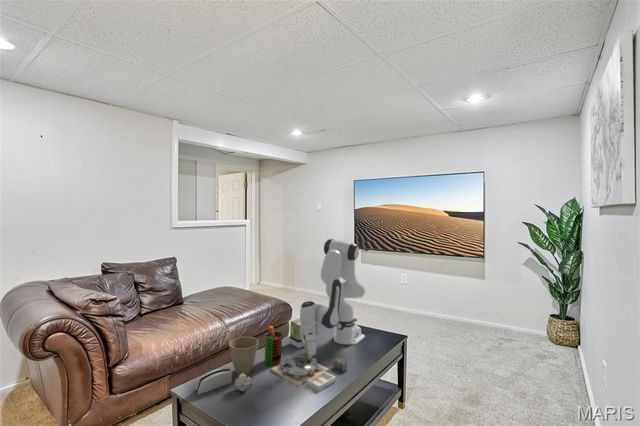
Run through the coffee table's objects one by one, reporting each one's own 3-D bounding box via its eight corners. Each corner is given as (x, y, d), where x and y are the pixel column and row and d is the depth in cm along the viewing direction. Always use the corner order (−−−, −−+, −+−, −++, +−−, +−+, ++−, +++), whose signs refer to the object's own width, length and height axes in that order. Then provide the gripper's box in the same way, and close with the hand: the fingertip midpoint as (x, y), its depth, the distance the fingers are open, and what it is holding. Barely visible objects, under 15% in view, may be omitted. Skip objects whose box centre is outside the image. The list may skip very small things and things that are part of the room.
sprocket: (303, 355, 191) (303, 343, 191) (327, 369, 175) (327, 356, 175) (272, 366, 178) (272, 354, 177) (295, 383, 162) (296, 369, 161)
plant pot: (222, 375, 171) (223, 344, 170) (241, 363, 184) (241, 334, 184) (245, 382, 164) (246, 350, 164) (263, 369, 177) (263, 340, 177)
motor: (277, 367, 180) (277, 331, 179) (261, 365, 182) (262, 329, 181) (283, 358, 190) (283, 324, 189) (268, 357, 192) (268, 323, 191)
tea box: (299, 348, 203) (299, 325, 203) (289, 343, 211) (289, 320, 210) (317, 342, 213) (317, 319, 213) (307, 337, 221) (308, 315, 220)
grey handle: (227, 378, 168) (230, 362, 165) (231, 385, 165) (234, 369, 162) (194, 389, 157) (196, 373, 154) (197, 397, 154) (200, 380, 151)
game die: (246, 397, 158) (258, 383, 156) (231, 398, 152) (243, 383, 150) (241, 381, 164) (252, 367, 162) (227, 380, 158) (238, 366, 157)
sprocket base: (300, 357, 192) (300, 355, 192) (328, 370, 177) (328, 368, 177) (270, 370, 176) (270, 368, 176) (299, 386, 161) (299, 384, 161)
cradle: (323, 375, 172) (323, 370, 172) (335, 381, 166) (335, 376, 166) (306, 384, 163) (306, 379, 163) (318, 391, 157) (318, 386, 157)
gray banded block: (338, 365, 183) (338, 357, 183) (347, 370, 178) (347, 362, 178) (333, 367, 181) (333, 359, 181) (342, 372, 176) (342, 364, 175)
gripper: (298, 325, 191) (298, 348, 192) (306, 339, 172) (306, 365, 172) (309, 324, 193) (309, 347, 193) (318, 338, 173) (318, 364, 174)
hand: (308, 356), depth 183 cm, fingers closed, pressing on sprocket
